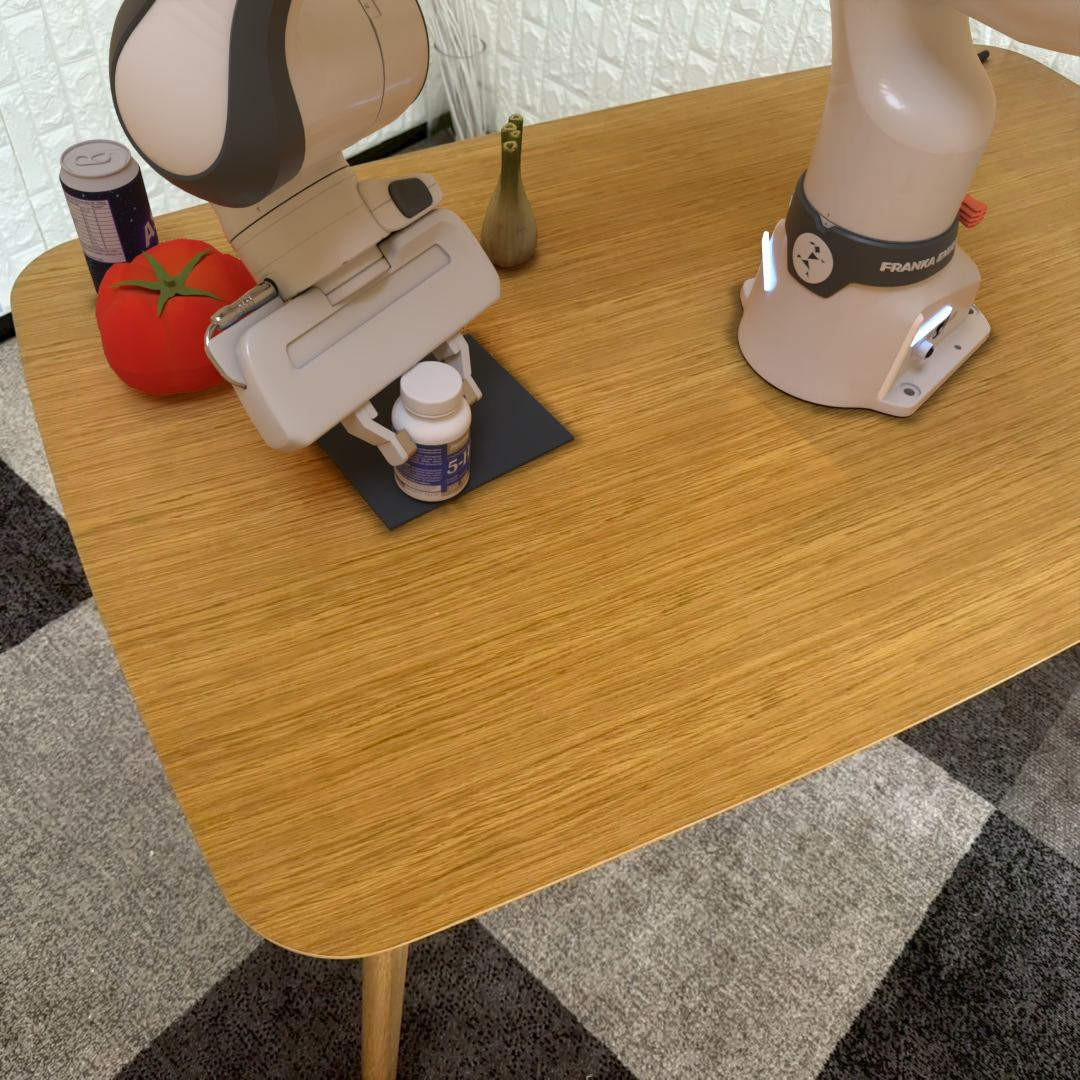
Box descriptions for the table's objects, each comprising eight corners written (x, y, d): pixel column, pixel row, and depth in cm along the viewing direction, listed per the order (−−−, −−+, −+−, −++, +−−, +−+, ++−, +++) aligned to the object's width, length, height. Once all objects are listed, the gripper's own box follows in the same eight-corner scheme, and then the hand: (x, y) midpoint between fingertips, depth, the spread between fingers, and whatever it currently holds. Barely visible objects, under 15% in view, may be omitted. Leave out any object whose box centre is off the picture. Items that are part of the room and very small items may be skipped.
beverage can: (174, 308, 82) (139, 173, 73) (99, 318, 81) (54, 182, 71) (167, 266, 85) (133, 132, 76) (96, 275, 84) (52, 140, 75)
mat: (468, 336, 83) (468, 333, 82) (574, 439, 76) (574, 437, 76) (290, 410, 76) (290, 407, 76) (390, 531, 69) (389, 528, 69)
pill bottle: (460, 510, 70) (461, 417, 63) (385, 496, 70) (379, 402, 63) (476, 455, 73) (480, 361, 66) (405, 442, 74) (401, 347, 67)
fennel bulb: (503, 231, 92) (509, 104, 83) (549, 251, 91) (560, 123, 81) (466, 262, 89) (468, 133, 79) (514, 283, 87) (521, 154, 78)
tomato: (189, 289, 84) (167, 197, 77) (305, 351, 80) (292, 259, 73) (65, 371, 77) (29, 278, 70) (185, 443, 73) (159, 351, 66)
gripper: (208, 313, 55) (354, 517, 60) (449, 163, 66) (557, 344, 71) (169, 341, 60) (307, 528, 65) (399, 197, 71) (504, 365, 76)
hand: (439, 431), depth 68 cm, fingers closed on pill bottle, 5 cm apart
